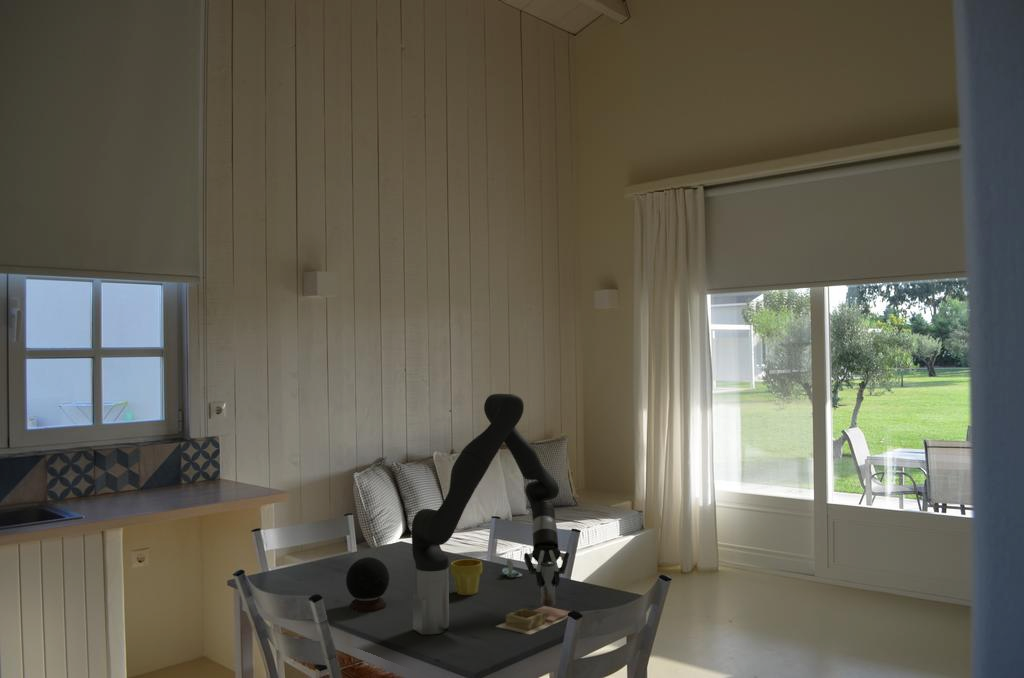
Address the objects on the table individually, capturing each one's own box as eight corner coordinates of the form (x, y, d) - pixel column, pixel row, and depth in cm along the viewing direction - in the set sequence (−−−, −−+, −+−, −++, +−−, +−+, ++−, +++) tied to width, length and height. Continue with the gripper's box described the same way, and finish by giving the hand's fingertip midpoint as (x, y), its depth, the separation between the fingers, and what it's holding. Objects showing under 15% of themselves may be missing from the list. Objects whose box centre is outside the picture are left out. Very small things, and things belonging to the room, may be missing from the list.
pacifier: (514, 573, 289) (500, 575, 286) (514, 555, 289) (500, 557, 286) (525, 577, 282) (511, 579, 279) (525, 559, 283) (511, 561, 280)
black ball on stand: (347, 615, 240) (347, 564, 241) (344, 602, 253) (344, 554, 253) (391, 611, 244) (391, 561, 244) (386, 599, 256) (386, 551, 257)
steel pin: (546, 606, 231) (545, 564, 232) (538, 603, 235) (538, 561, 235) (557, 604, 234) (557, 562, 234) (550, 601, 237) (549, 559, 237)
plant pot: (444, 594, 261) (444, 564, 261) (461, 587, 270) (461, 557, 270) (472, 598, 256) (472, 567, 256) (488, 590, 265) (488, 560, 266)
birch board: (530, 639, 217) (529, 623, 217) (495, 630, 224) (495, 615, 224) (576, 617, 235) (576, 603, 235) (543, 610, 242) (543, 596, 242)
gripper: (521, 528, 242) (524, 579, 230) (569, 527, 243) (573, 578, 230) (521, 542, 247) (523, 593, 235) (567, 541, 248) (572, 591, 235)
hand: (548, 585), depth 232 cm, fingers closed on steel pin, 4 cm apart
